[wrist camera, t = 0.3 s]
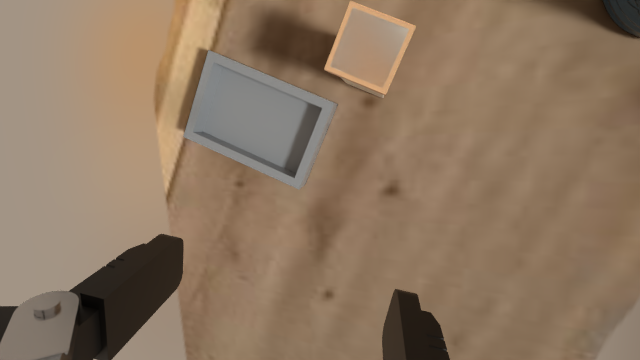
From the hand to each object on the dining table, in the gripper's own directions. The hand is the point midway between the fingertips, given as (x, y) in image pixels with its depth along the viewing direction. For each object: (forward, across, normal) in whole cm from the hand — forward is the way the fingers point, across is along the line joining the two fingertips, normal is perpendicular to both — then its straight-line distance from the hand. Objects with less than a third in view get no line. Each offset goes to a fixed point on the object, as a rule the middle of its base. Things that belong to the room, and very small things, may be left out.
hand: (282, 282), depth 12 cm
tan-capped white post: (+28, -2, -8) cm, 30 cm away
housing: (+28, +10, -1) cm, 30 cm away
